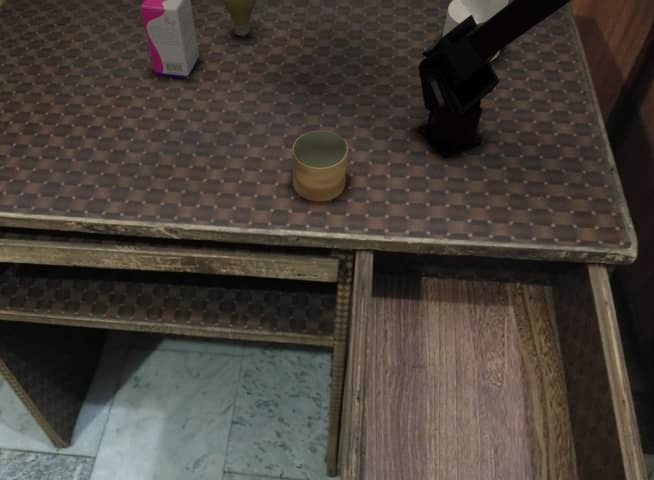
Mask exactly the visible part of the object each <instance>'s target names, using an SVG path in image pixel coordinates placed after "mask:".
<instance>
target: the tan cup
mask: <svg viewBox="0 0 654 480" xmlns="http://www.w3.org/2000/svg"><path fill="white" fill-rule="evenodd" d="M291 149H292V185H293V189H294V190H295V192H296V194H298V195H299V196H300V197H301V198H303V199H305V200H308V201H310V202H327V201H331V200H333V199H335V198H337V197H339V196H340V195H341V194H342V193H343V191H344V190H345V188H346V182H347V181H346V180H347V171H348V170H347V168H348V157H349V156H348V155H349V146H348V143H347V142H346V140H345V139H344V138H343V137H342V136H341V135H340V134H337V133H336V132H333V131H330V130H324V129H323V130H312V131H308V132H305V133H303V134H302V135H300V136H299V137H298V138H296V140H295V141H294V143H293V145H292V148H291Z"/></svg>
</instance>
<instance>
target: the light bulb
mask: <svg viewBox="0 0 654 480" xmlns="http://www.w3.org/2000/svg"><path fill="white" fill-rule="evenodd" d="M256 2H257V0H222V3H223V5H224V7H225V8H226V11H228V13H229V16H230V18H231V20H232V23H233V26H234V33H235V34H236V35H238V36H240V37H245V36H246V35H248V34H249V33H250V21H251V17H252V12H253V10H254V7H255V5H256Z"/></svg>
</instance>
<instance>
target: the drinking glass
mask: <svg viewBox="0 0 654 480" xmlns="http://www.w3.org/2000/svg"><path fill="white" fill-rule="evenodd" d="M509 1H510V0H452V1H451V2H450V3H449V4H448V7H447V11H446V16H445V17H446V18H445V22H444V26H443V31H442V37H443V36H444V35H446V34H447V33H448V32H449V31H451V30H452V29H453V28H455V27H456V26H457V25H458V24H460V23H461V22H462V21H464V20H465V19H466V18H467V17H469V16H470V15H472V16H473V18H474V20H475V22H476V24H479V23H482V22H485V21H487V20H488V19H490V18H491V17H492V16H494V15H495V14H496V13H497V12H499V11H500V10H501V9H503V8H504V7H505V6H507V5H508V4H509ZM500 52H501V50H499V51H498V53H497V54H496V55H495V56H494V57H493V58H492V60H491V61H493V60H495V59H496V58H497V57H498V56H499V55H500Z"/></svg>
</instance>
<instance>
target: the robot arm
mask: <svg viewBox="0 0 654 480" xmlns="http://www.w3.org/2000/svg"><path fill="white" fill-rule="evenodd" d="M571 1H572V0H512V1H510V2H508V5H507V6H505V7H504V8H503V9H501V10H500V11H499V12H497V13H496V14H495V15H494V16H492V17H491V18H490V19H488V20H487V21H485V22H482V23H479V24H476V22H475V20H474V18H473V16H472V15H470V16H469V17H467V18H466V19H465V20H464V21H462V22H461V23H460V24H458V25H457V26H456V27H455V28H453V29H452V30H451V31H449V32H448V33H447V34H446V35H444V36H443V35H442V37H440V38H439V39H438V40H437V41H435V42H434V43H433V44H432V45H430V46H429V47H428V48H427V49H425V50H424V51H423V52H422V53H421V55H422V56H423V57H424V58H423V59H421V61H420V62H419V64H418V66H417V68H418V71H419V72H418V75H419V79H420V84H421V90H422V91H421V92H422V96H423V103H424V104H423V105H424V109H425V110H427V111H428V112H429V113H428V116H427V123H425V124H421V125H420V126H418V129H417V131H418V132H419V134H420V135H421V136H422V138H424V139H425V141H426V142H428V144H429V145H430V146H431V147H432V149H434V150H435V151H436V152H437V153H438V155H440V157H442V158H446V157H449V156H452V155H455V154H457V153H460V152H462V151H465V150H467V149H470V148H472V147H475V146H477V145H478V146H479V145H480V144H483V139H484V138H483V137H481V135H480V134H479V133H478V131H477V130H478V127H479V124H480V122H481V121H480V120H481V117H482V114H483V110H484V109H483V107H482V106H481V103H482V101H481V100H482V99H484V98H485V97H486V96H487V95H489V94H490V93H492V92H493V90H494V89H495V88H496V87H497V85H498V84H499V83H500V79H499V77H498V76H497V74H496V72H495V70H494V67H493V66H492V64H491V62H492V61H493V60H492V58H493V57H494V56H495V55H496V54H497V53H498V51H499V50H500V51H501V50H503V49H505V47H507V46H508V45H510V44H511V43H513V42H514V41H515V40H517V39H518V38H520V37H521V36H522V35H524V34H525V33H527V32H528V31H530V30H531V29H533V28H534V27H536V26H537V25H538V24H540V23H541V22H543V21H544V20H545V19H547V18H549V17H550V16H551V15H553V14H555V13H556V12H557V11H559V10H560V9H561V8H563V7H565V6H566V5H567V4H569V3H570V2H571Z"/></svg>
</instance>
